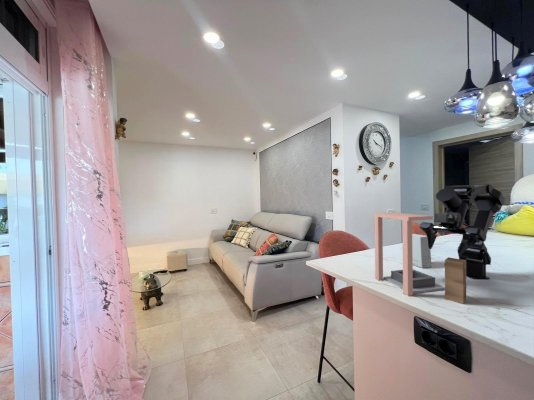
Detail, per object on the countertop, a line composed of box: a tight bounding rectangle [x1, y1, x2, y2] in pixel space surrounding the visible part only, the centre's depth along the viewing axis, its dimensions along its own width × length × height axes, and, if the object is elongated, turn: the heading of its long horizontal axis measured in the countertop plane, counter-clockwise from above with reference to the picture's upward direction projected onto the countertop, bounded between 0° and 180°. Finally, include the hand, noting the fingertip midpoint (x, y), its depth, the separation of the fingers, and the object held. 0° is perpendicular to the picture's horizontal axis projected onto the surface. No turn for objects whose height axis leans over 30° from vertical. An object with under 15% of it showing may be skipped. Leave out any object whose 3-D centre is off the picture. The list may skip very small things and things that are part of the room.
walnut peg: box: [444, 257, 467, 305], centre depth 70 cm, size 4×4×13 cm
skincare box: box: [412, 233, 432, 269], centre depth 104 cm, size 8×6×15 cm
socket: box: [383, 268, 445, 295], centre depth 83 cm, size 14×14×4 cm
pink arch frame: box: [373, 212, 434, 297], centre depth 82 cm, size 10×17×27 cm, turn 12°
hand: (443, 251), depth 79 cm, fingers open, 9 cm apart
